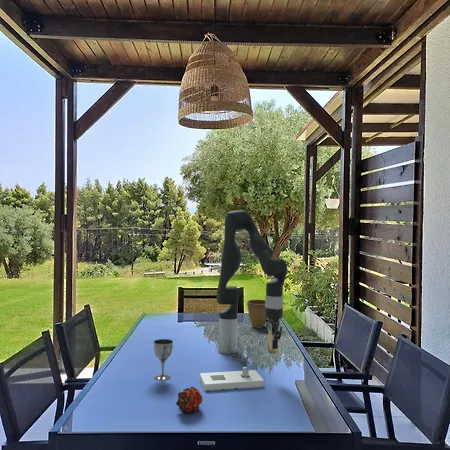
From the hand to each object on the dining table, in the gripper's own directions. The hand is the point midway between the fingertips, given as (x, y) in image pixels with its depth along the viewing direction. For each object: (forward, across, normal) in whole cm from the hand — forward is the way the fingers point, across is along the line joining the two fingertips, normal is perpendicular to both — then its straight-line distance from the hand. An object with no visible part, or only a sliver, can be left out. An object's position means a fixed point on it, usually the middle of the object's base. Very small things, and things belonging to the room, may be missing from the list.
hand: (273, 346), depth 173 cm
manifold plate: (+14, +1, -18) cm, 23 cm away
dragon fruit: (+14, +22, -38) cm, 46 cm away
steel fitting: (+14, +1, -12) cm, 18 cm away
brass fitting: (+2, 0, 0) cm, 2 cm away
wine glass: (+14, -10, -45) cm, 48 cm away
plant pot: (+15, -87, +21) cm, 90 cm away
